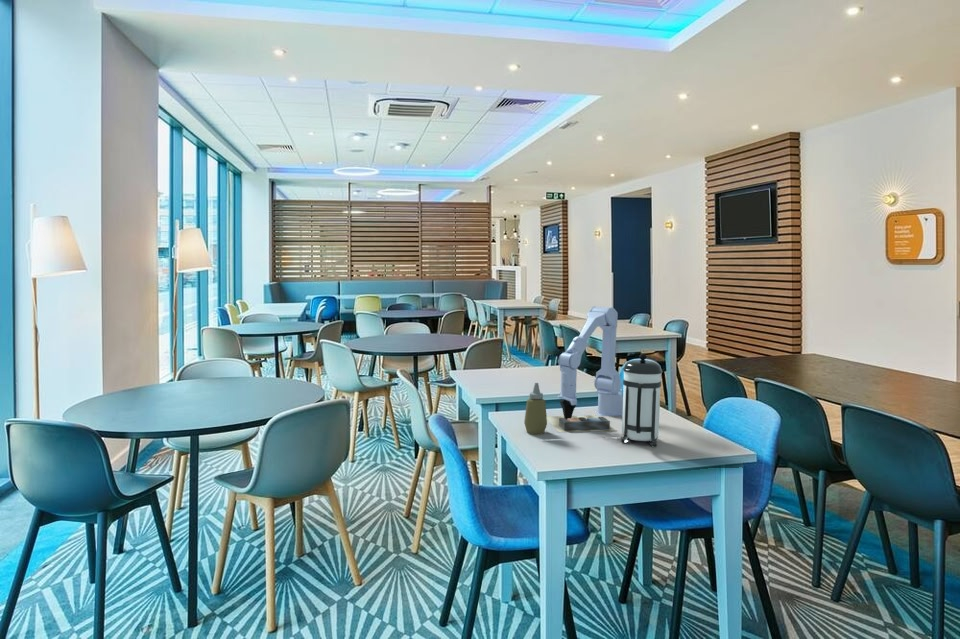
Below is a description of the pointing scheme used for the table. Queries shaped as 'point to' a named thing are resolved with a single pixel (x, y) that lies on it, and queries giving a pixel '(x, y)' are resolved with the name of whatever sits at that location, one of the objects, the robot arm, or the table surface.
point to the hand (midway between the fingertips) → (567, 419)
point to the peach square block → (573, 419)
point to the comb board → (580, 424)
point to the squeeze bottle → (535, 412)
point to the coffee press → (641, 400)
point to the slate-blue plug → (593, 419)
